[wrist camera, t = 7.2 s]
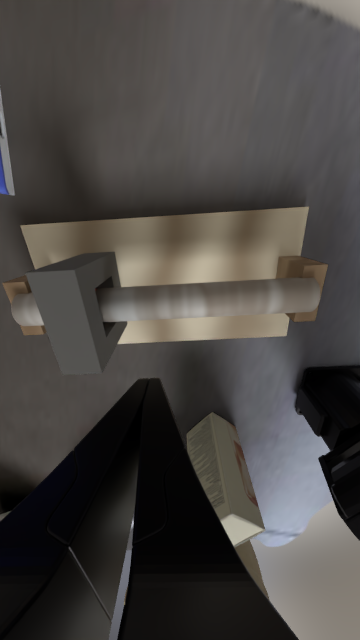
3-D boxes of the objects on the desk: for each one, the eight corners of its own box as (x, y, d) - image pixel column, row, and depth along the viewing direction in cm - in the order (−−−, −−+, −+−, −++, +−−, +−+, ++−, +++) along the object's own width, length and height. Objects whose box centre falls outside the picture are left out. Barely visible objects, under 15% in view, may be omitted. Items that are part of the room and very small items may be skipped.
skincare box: (210, 447, 28) (224, 554, 19) (185, 432, 27) (187, 539, 18) (238, 426, 27) (268, 533, 18) (213, 409, 25) (231, 515, 16)
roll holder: (304, 207, 16) (361, 200, 11) (283, 332, 21) (317, 369, 16) (25, 225, 17) (-43, 227, 12) (64, 343, 22) (28, 381, 16)
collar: (114, 251, 17) (74, 269, 11) (127, 324, 20) (101, 373, 13) (83, 253, 17) (25, 272, 11) (100, 325, 20) (62, 375, 13)
